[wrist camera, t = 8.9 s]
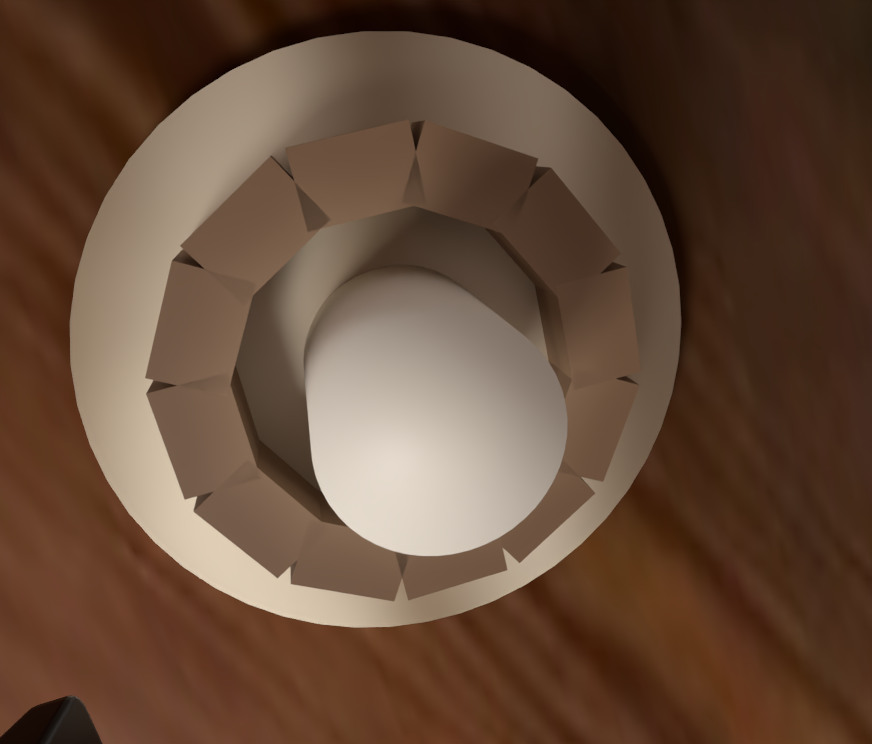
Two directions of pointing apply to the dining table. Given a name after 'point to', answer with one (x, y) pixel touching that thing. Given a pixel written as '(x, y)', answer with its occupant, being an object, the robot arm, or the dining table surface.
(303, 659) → the dining table surface
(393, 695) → the dining table surface
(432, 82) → the tray
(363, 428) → the white cylinder
